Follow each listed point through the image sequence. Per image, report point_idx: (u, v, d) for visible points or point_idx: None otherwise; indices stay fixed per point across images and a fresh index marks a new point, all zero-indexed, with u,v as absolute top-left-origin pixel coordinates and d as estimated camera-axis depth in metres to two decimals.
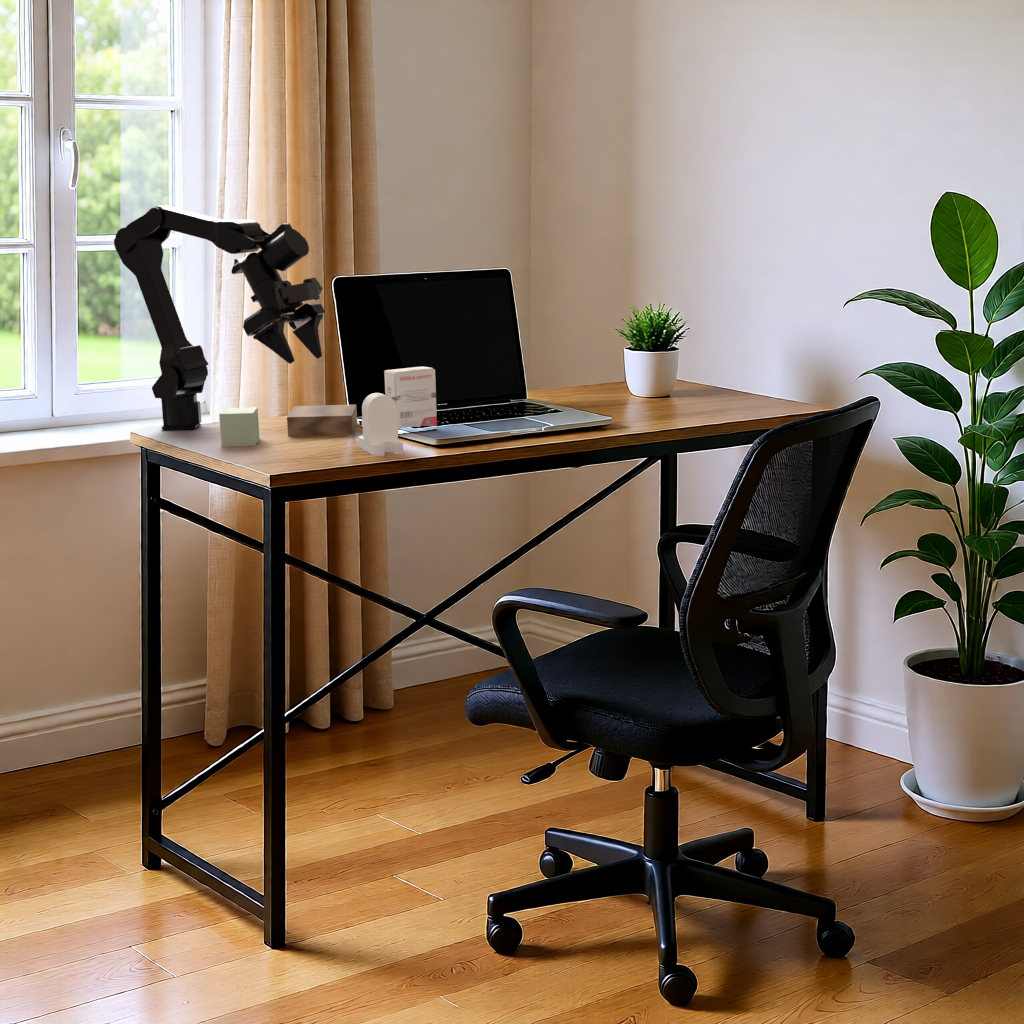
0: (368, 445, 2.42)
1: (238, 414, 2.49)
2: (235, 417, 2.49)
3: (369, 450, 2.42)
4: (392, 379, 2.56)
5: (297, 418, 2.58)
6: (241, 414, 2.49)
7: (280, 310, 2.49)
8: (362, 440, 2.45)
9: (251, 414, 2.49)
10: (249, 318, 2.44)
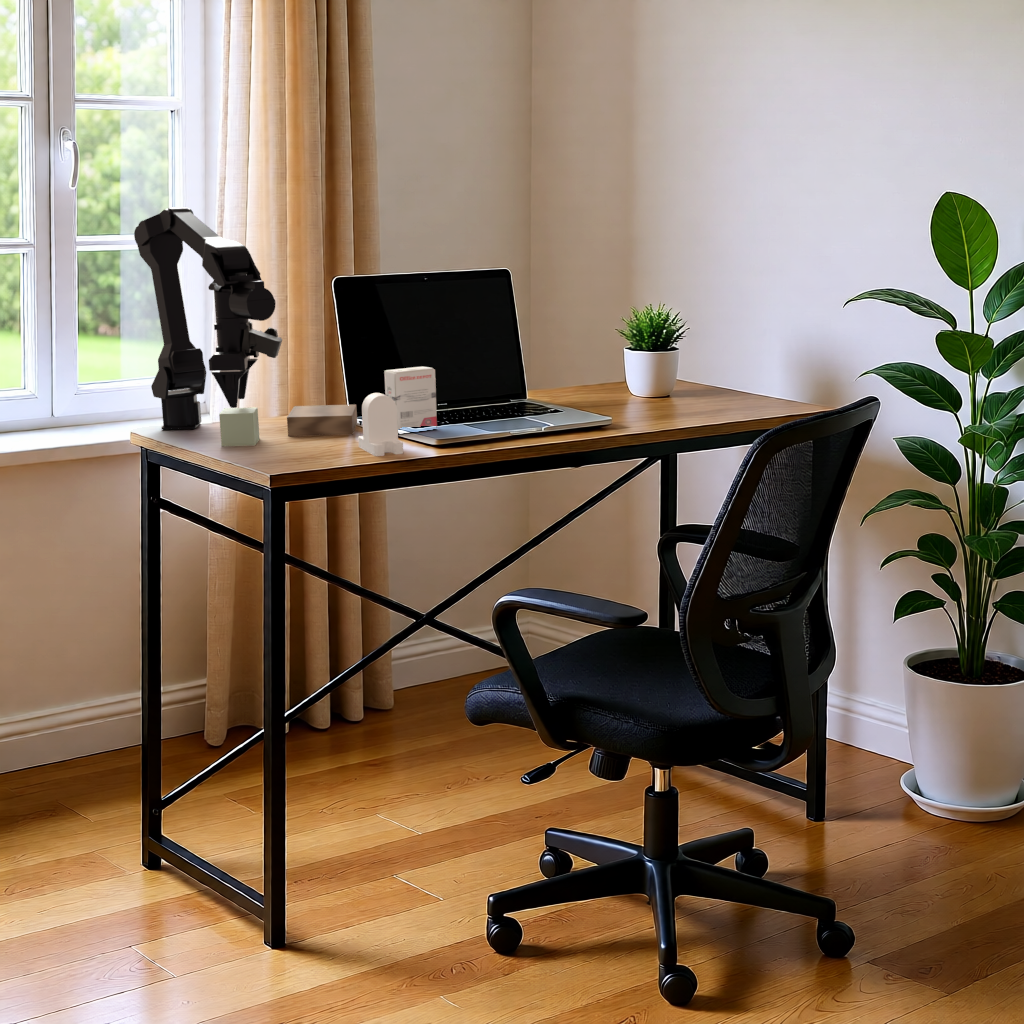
0: (368, 445, 2.42)
1: (238, 414, 2.49)
2: (235, 417, 2.49)
3: (369, 450, 2.42)
4: (392, 379, 2.56)
5: (297, 418, 2.58)
6: (241, 414, 2.49)
7: (240, 352, 2.47)
8: (362, 440, 2.45)
9: (251, 414, 2.49)
10: (221, 357, 2.41)
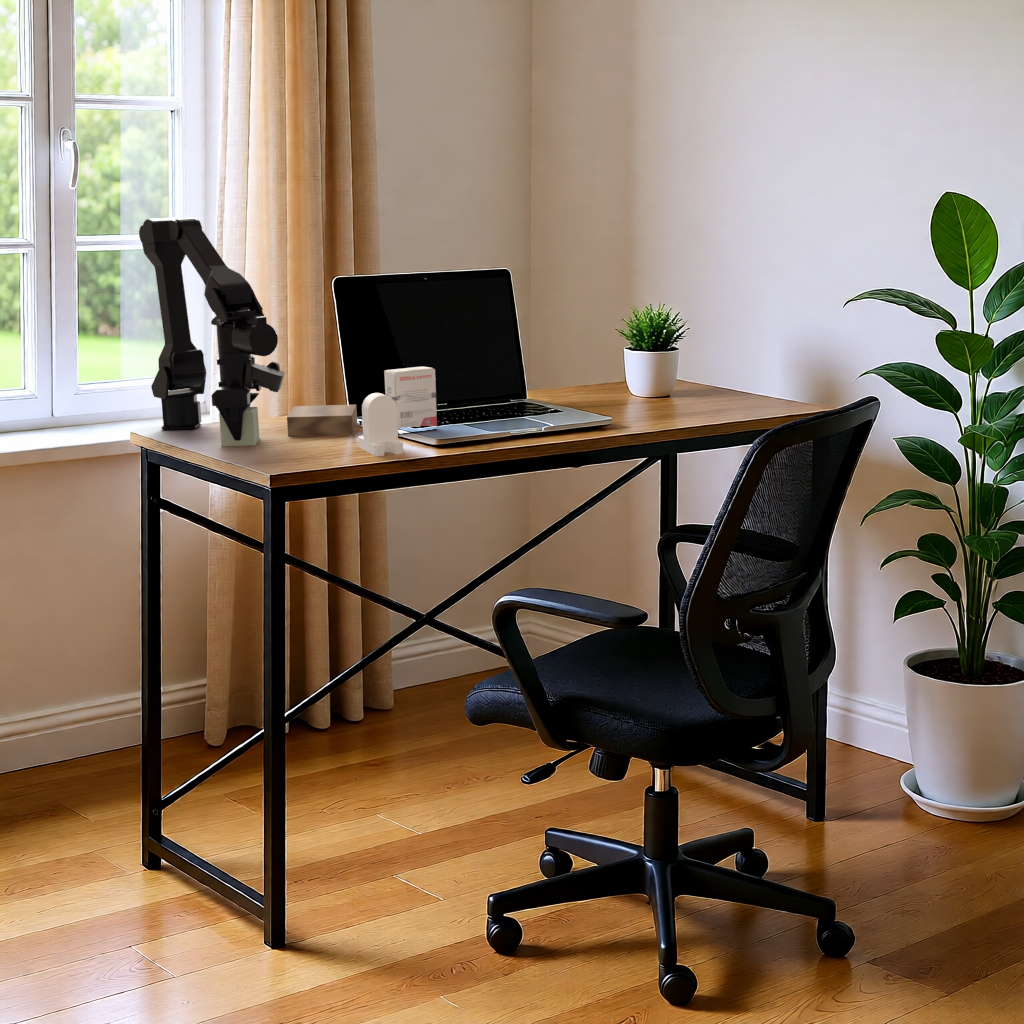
0: (368, 445, 2.42)
1: None
2: None
3: (369, 450, 2.42)
4: (392, 379, 2.56)
5: (297, 418, 2.58)
6: None
7: (243, 386, 2.49)
8: (362, 440, 2.45)
9: (251, 413, 2.49)
10: (224, 392, 2.42)
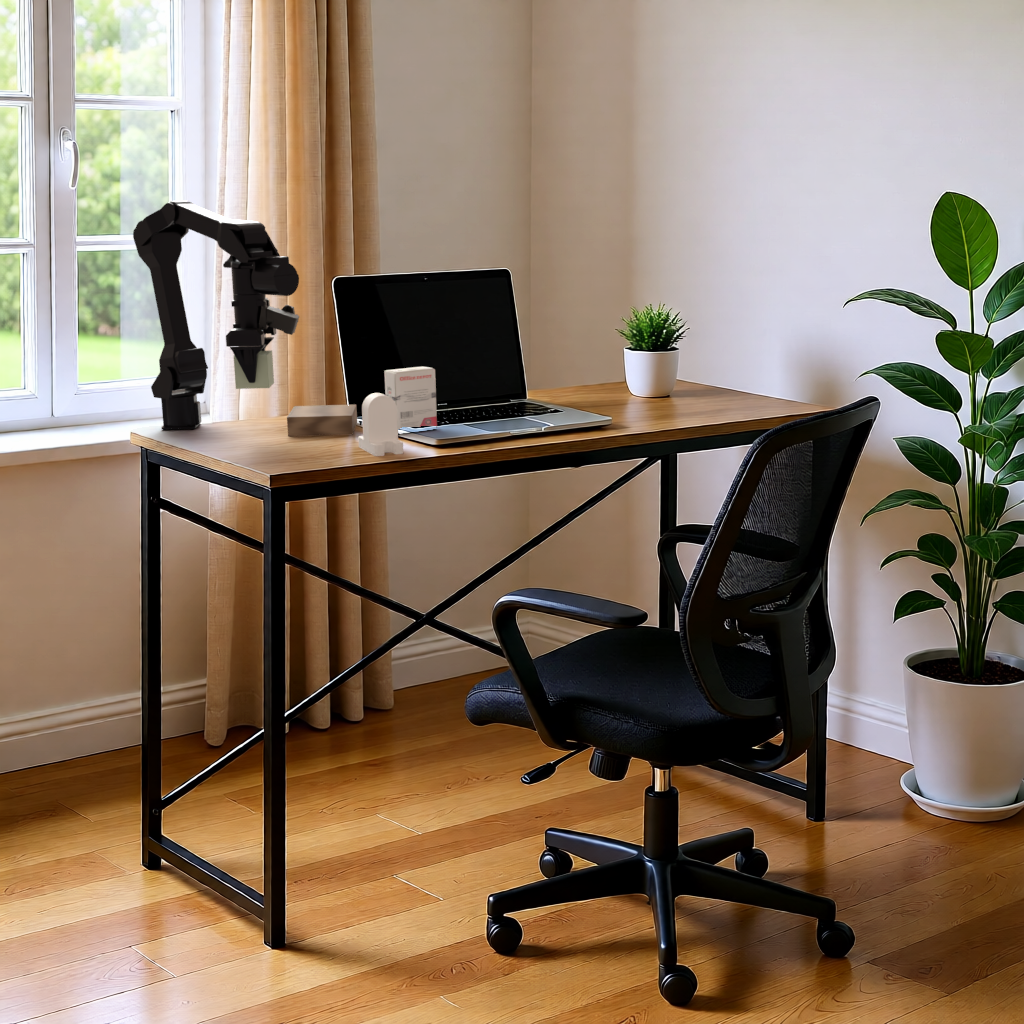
0: (368, 445, 2.42)
1: None
2: None
3: (369, 450, 2.42)
4: (392, 379, 2.56)
5: (297, 418, 2.58)
6: None
7: None
8: (362, 440, 2.45)
9: (265, 356, 2.49)
10: (238, 332, 2.42)
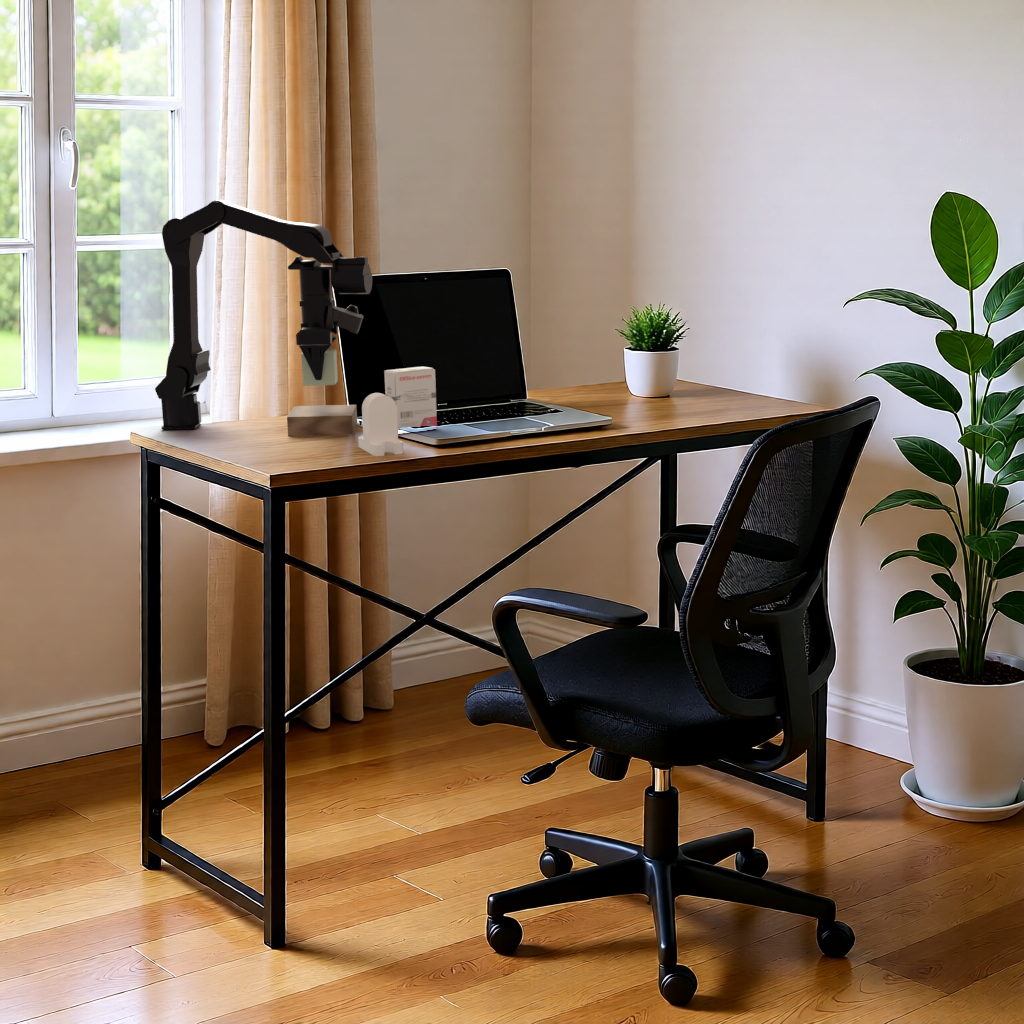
0: (368, 445, 2.42)
1: None
2: None
3: (369, 450, 2.42)
4: (392, 379, 2.56)
5: (297, 418, 2.58)
6: None
7: None
8: (362, 440, 2.45)
9: (332, 354, 2.58)
10: (308, 331, 2.51)
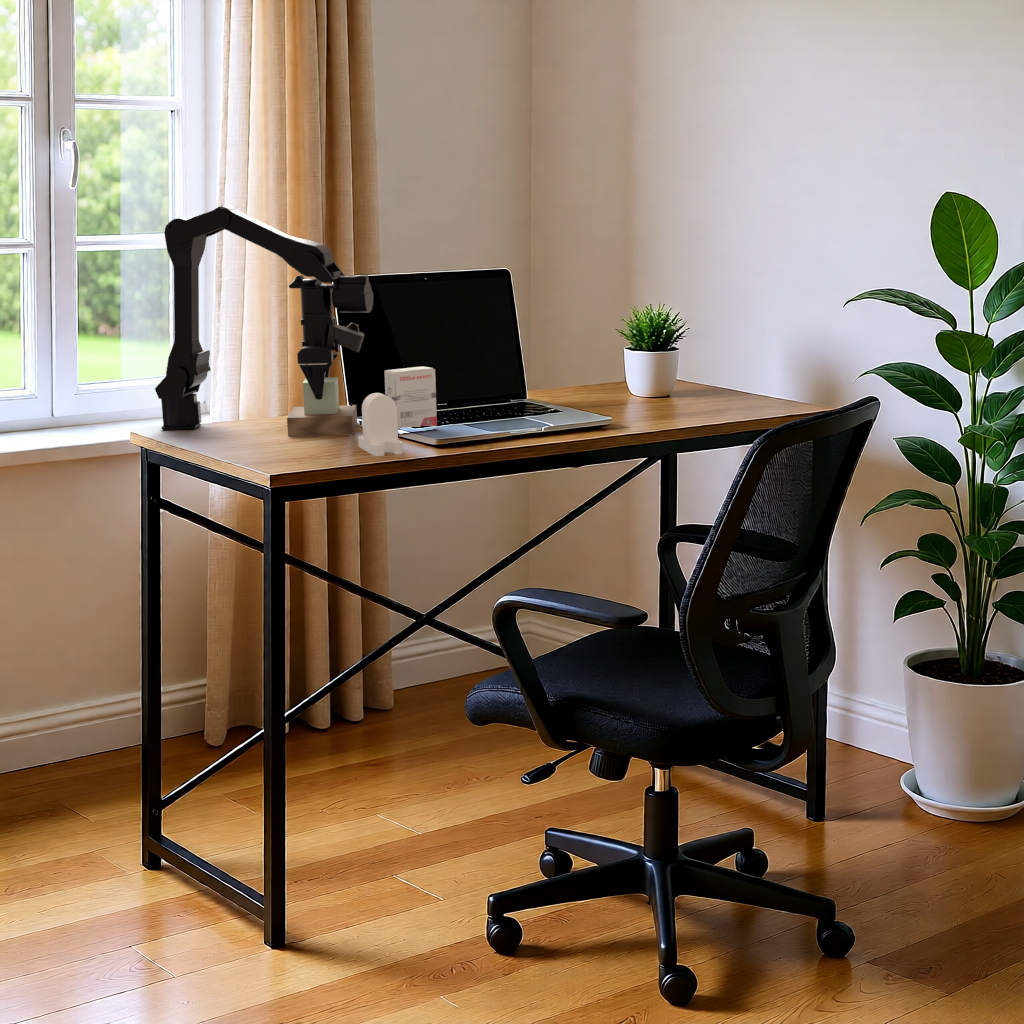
0: (368, 445, 2.42)
1: None
2: None
3: (369, 450, 2.42)
4: (392, 379, 2.56)
5: (297, 419, 2.58)
6: None
7: (325, 346, 2.58)
8: (362, 440, 2.45)
9: (333, 383, 2.59)
10: (309, 350, 2.52)
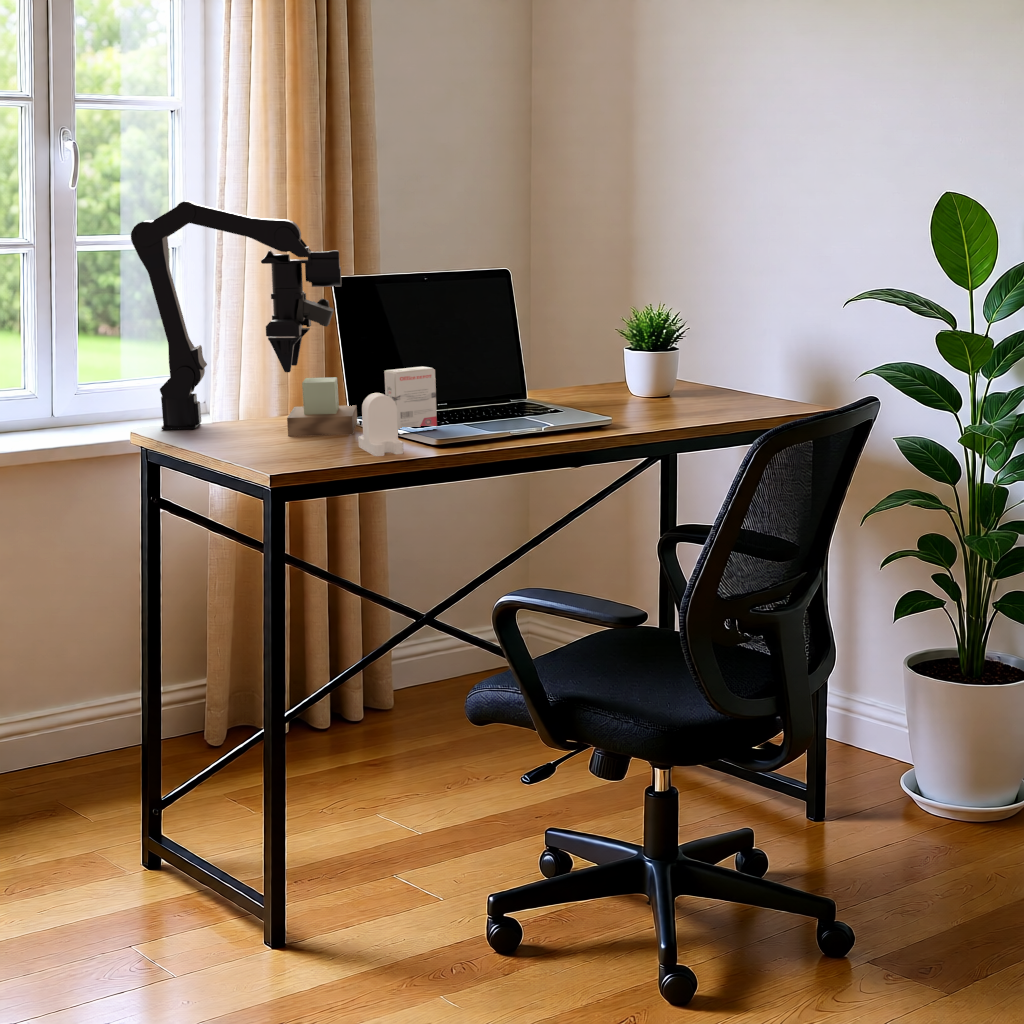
0: (368, 445, 2.42)
1: (320, 383, 2.59)
2: (317, 386, 2.60)
3: (369, 450, 2.42)
4: (392, 379, 2.56)
5: (297, 419, 2.58)
6: (323, 383, 2.59)
7: (295, 320, 2.64)
8: (362, 440, 2.45)
9: (333, 383, 2.59)
10: (277, 323, 2.58)
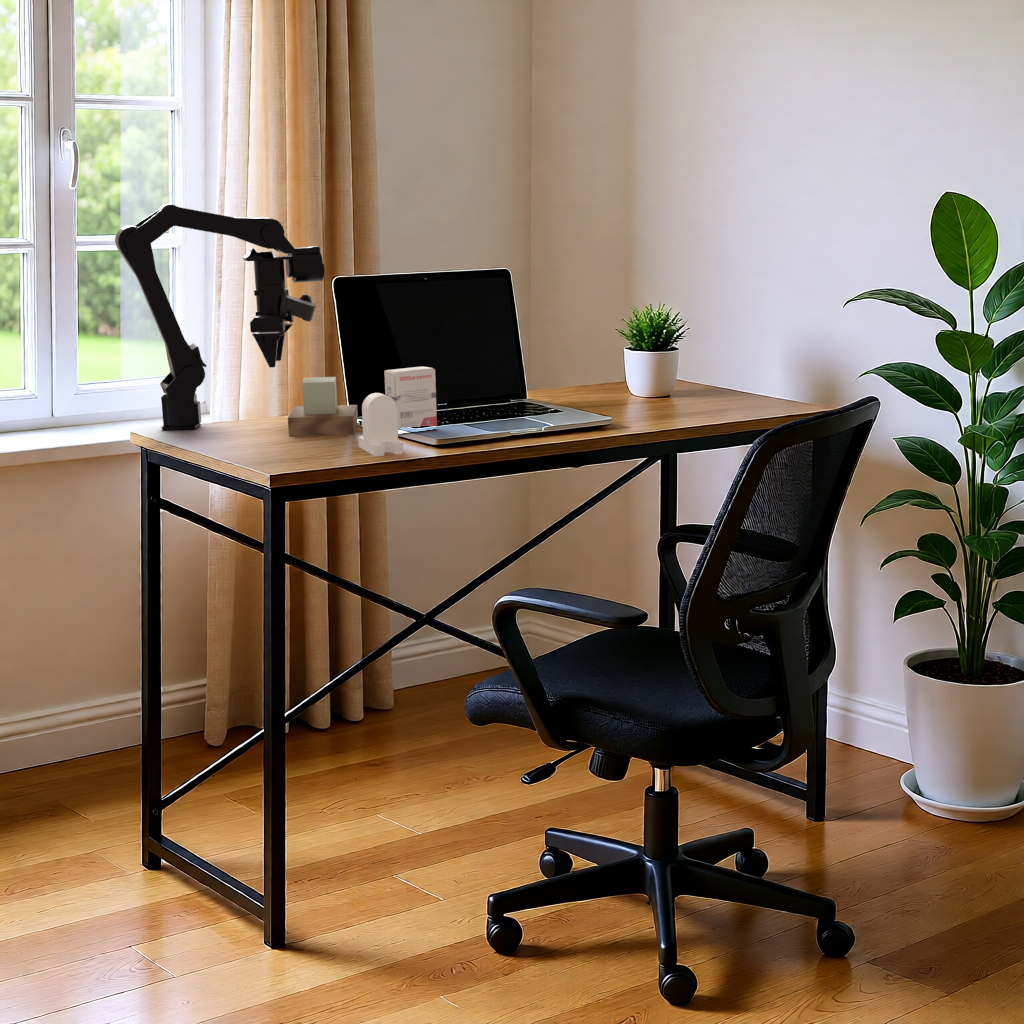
0: (368, 445, 2.42)
1: (320, 383, 2.59)
2: (317, 386, 2.59)
3: (369, 450, 2.42)
4: (392, 379, 2.56)
5: (298, 419, 2.58)
6: (323, 383, 2.59)
7: None
8: (362, 440, 2.45)
9: (333, 383, 2.60)
10: (261, 319, 2.62)
